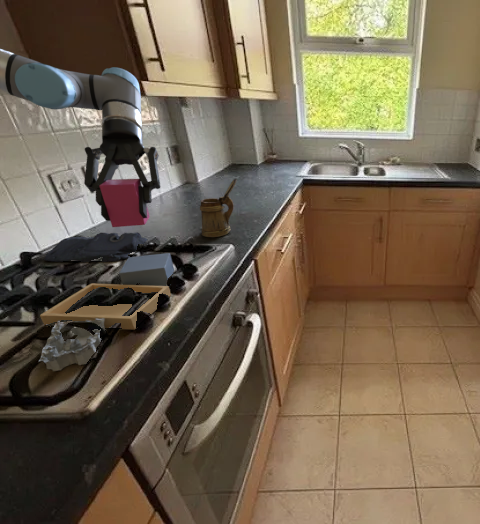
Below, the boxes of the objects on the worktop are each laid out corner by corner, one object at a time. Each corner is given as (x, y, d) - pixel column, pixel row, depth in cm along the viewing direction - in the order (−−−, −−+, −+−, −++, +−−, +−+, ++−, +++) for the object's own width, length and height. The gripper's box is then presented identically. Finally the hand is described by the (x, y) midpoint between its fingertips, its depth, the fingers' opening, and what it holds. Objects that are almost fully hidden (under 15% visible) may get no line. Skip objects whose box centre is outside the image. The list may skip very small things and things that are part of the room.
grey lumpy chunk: (65, 336, 62) (57, 318, 60) (113, 328, 64) (106, 310, 63) (38, 376, 53) (27, 356, 51) (95, 364, 55) (87, 345, 54)
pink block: (112, 227, 71) (99, 185, 67) (119, 219, 76) (107, 179, 72) (144, 224, 73) (133, 184, 69) (149, 217, 78) (139, 178, 74)
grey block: (125, 292, 76) (118, 273, 74) (134, 275, 84) (128, 257, 82) (169, 286, 79) (164, 267, 77) (174, 270, 87) (169, 252, 85)
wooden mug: (244, 234, 112) (237, 180, 104) (200, 238, 107) (189, 182, 99) (244, 226, 119) (236, 175, 111) (202, 229, 115) (192, 177, 107)
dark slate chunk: (77, 241, 102) (72, 227, 100) (153, 241, 104) (149, 226, 102) (37, 263, 88) (30, 246, 86) (126, 261, 90) (121, 245, 88)
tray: (44, 326, 64) (39, 315, 63) (95, 293, 76) (91, 283, 74) (134, 329, 64) (130, 318, 63) (171, 295, 75) (168, 286, 74)
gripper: (172, 139, 84) (179, 220, 77) (80, 139, 77) (78, 228, 70) (164, 117, 77) (171, 204, 70) (62, 115, 70) (59, 211, 64)
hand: (125, 216), depth 70 cm, fingers closed on pink block, 6 cm apart
